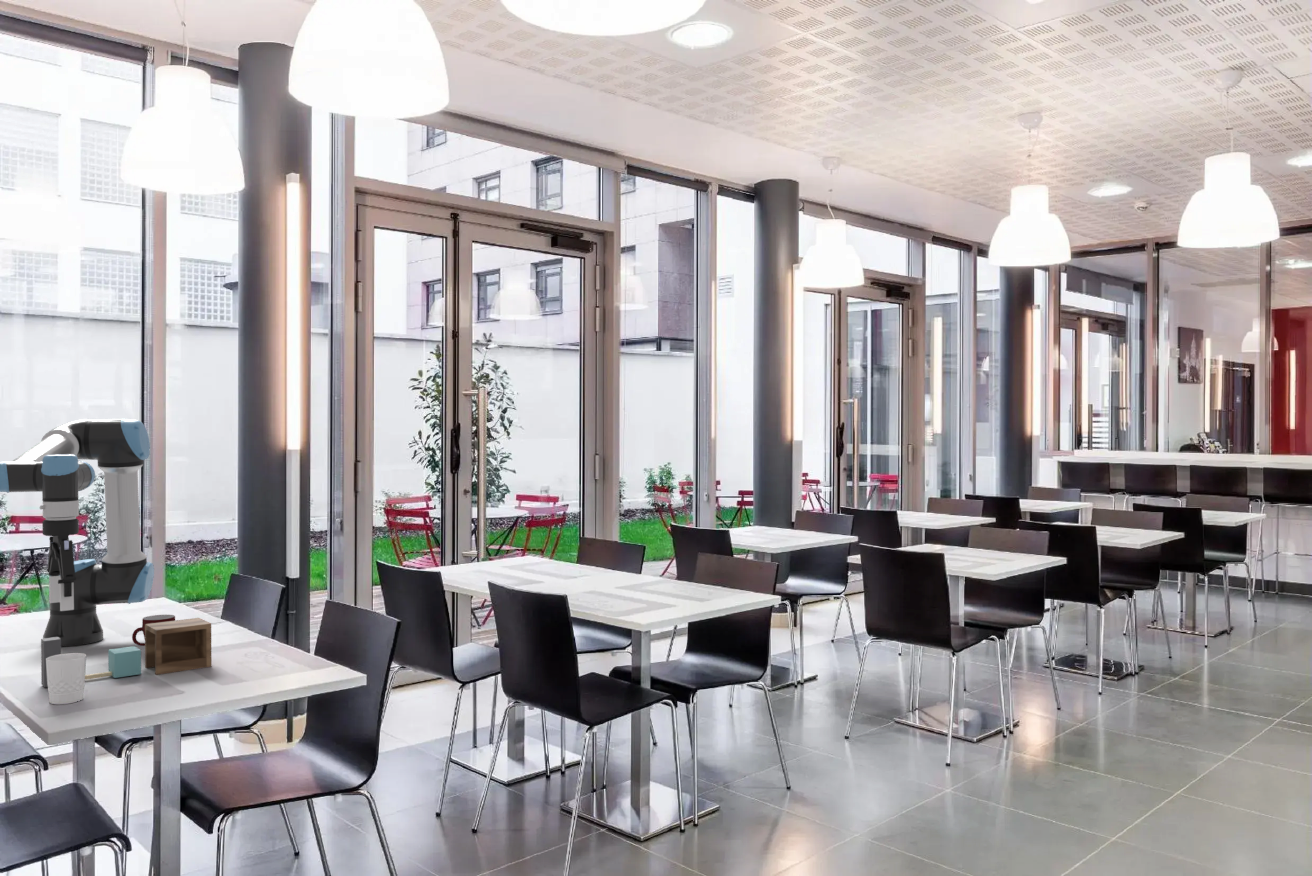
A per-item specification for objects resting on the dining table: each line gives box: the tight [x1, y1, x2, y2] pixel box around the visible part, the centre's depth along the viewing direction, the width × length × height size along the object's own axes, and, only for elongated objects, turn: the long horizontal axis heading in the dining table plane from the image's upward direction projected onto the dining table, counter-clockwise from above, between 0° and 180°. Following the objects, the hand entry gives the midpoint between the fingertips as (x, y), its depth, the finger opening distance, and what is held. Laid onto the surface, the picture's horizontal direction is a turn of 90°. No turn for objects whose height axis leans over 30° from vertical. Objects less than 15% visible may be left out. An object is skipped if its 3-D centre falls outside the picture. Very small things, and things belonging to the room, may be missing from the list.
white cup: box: [46, 652, 87, 705], centre depth 226 cm, size 8×8×10 cm
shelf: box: [144, 617, 213, 676], centre depth 258 cm, size 10×13×11 cm
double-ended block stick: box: [40, 637, 142, 688], centre depth 245 cm, size 6×21×11 cm, turn 131°
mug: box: [131, 614, 176, 647], centre depth 272 cm, size 11×8×10 cm
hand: (61, 606), depth 240 cm, fingers open, 13 cm apart
